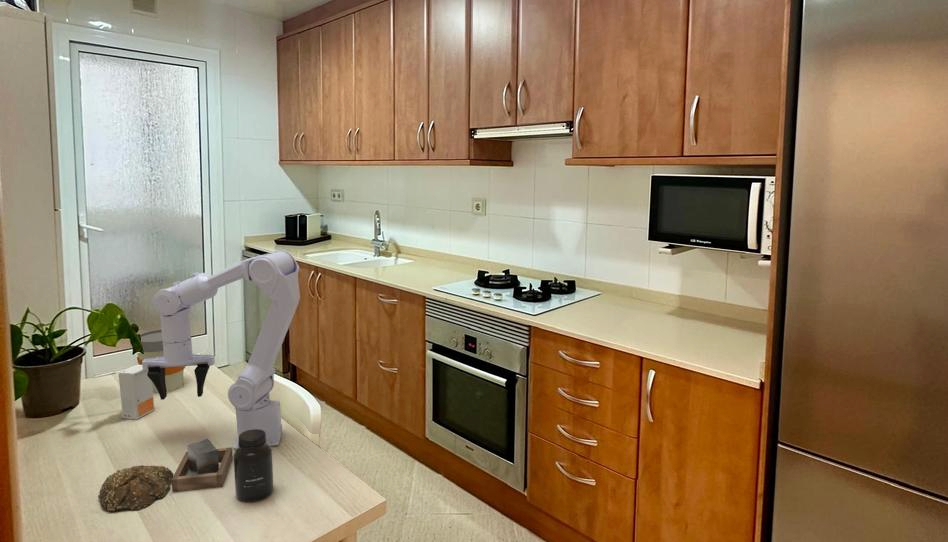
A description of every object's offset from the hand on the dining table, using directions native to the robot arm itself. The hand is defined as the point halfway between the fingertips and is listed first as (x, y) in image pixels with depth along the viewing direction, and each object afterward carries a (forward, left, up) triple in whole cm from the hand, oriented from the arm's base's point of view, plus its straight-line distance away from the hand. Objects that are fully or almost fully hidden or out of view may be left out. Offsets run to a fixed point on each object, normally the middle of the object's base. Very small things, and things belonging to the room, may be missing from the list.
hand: (182, 396), depth 130 cm
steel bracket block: (-8, +19, -10) cm, 23 cm away
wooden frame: (-8, +19, -9) cm, 23 cm away
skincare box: (+14, -14, -10) cm, 22 cm away
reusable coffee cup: (+13, -32, -10) cm, 36 cm away
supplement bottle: (-19, +28, -10) cm, 35 cm away
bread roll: (+3, +23, -10) cm, 26 cm away
